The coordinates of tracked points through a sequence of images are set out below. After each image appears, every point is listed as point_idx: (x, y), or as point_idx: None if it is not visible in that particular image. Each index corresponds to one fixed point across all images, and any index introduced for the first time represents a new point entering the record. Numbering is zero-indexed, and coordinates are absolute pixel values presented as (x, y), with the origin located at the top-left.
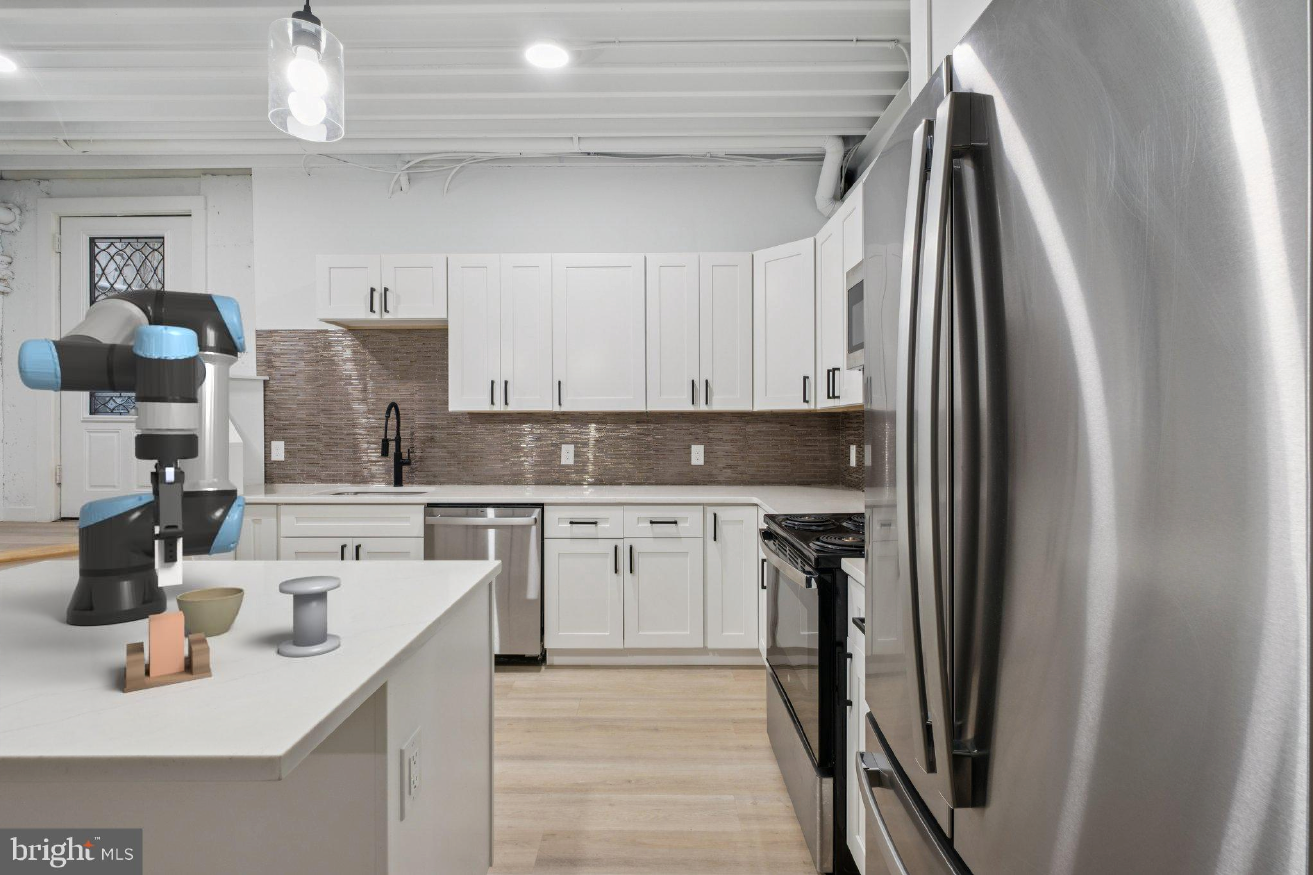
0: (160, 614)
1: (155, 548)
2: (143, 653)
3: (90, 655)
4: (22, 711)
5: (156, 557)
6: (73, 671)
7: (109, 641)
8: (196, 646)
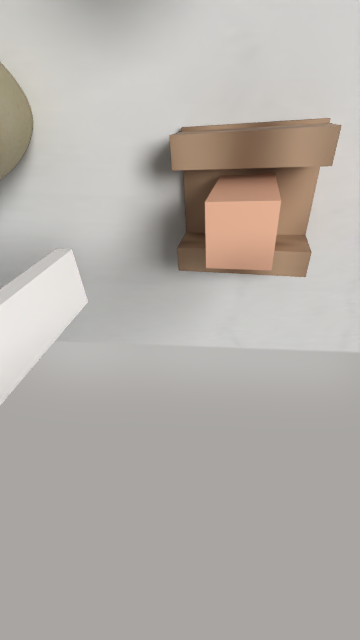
0: (211, 247)
1: (50, 343)
2: None
3: (82, 283)
4: (277, 342)
5: (68, 319)
6: (146, 300)
7: (21, 263)
8: (293, 156)
